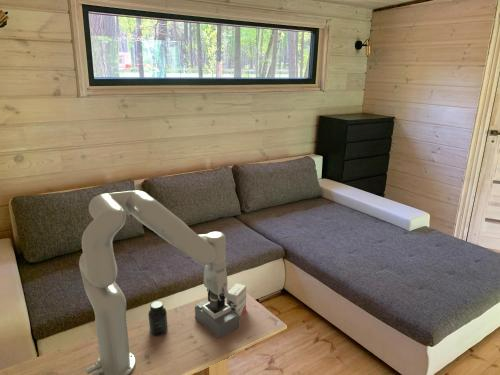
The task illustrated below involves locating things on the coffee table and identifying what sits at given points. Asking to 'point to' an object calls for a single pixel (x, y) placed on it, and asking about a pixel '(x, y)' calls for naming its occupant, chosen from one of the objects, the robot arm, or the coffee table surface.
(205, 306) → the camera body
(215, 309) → the lens
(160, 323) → the supplement bottle
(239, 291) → the ink box
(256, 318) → the coffee table surface
